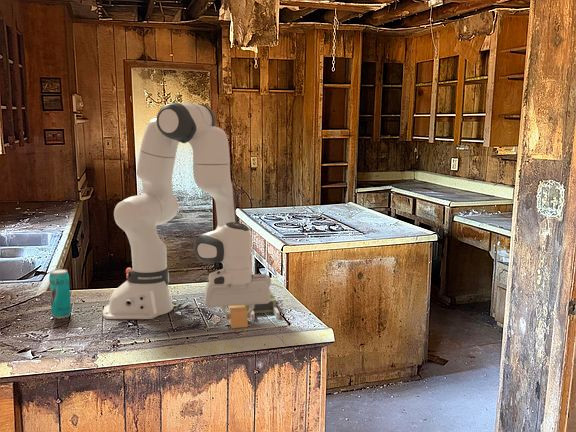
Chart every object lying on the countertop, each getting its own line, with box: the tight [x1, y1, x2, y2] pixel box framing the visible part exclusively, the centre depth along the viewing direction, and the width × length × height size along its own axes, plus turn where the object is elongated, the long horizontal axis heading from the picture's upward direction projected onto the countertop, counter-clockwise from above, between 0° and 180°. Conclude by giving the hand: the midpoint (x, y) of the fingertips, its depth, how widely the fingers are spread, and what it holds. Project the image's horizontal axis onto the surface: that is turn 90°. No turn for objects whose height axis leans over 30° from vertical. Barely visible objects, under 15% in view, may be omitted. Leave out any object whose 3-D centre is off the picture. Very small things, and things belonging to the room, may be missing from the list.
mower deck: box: [245, 290, 281, 322], centre depth 179 cm, size 11×20×9 cm, turn 12°
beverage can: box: [48, 268, 72, 320], centre depth 171 cm, size 6×6×15 cm
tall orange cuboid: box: [228, 305, 249, 329], centre depth 167 cm, size 5×7×5 cm
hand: (238, 318), depth 167 cm, fingers open, 5 cm apart
